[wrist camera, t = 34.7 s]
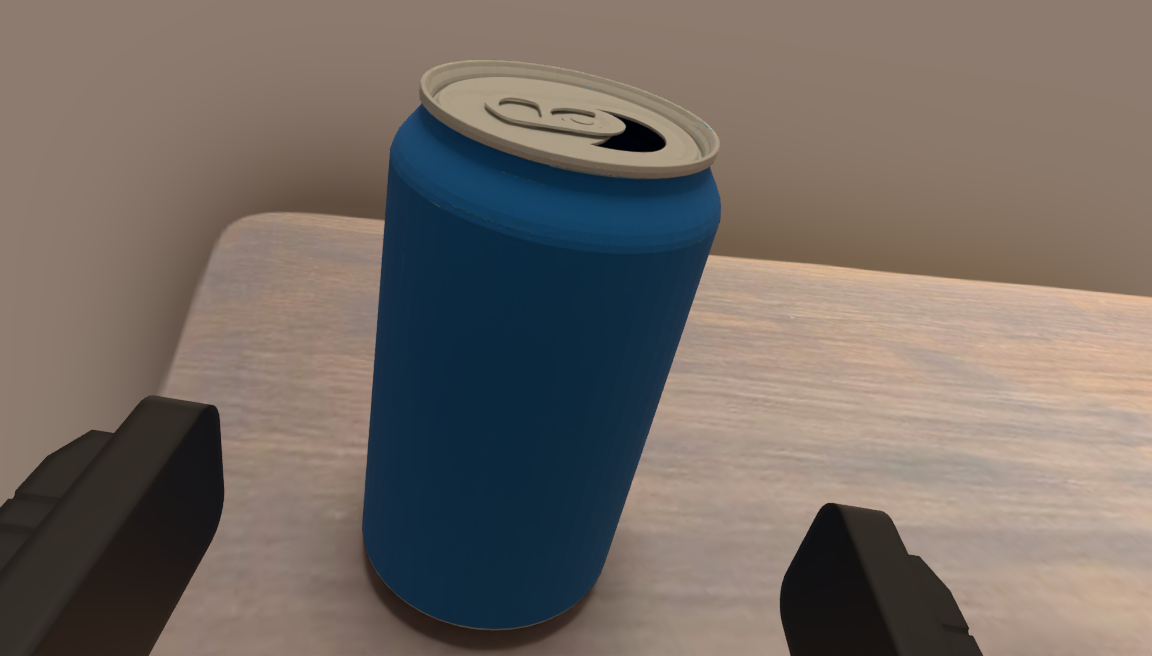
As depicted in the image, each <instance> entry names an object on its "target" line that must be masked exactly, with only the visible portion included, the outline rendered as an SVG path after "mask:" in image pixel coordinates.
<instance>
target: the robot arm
mask: <svg viewBox="0 0 1152 656" xmlns="http://www.w3.org/2000/svg"><path fill="white" fill-rule="evenodd" d="M223 502H224V479H223V463H222V447H221V432H220V418H219V413H218V410H217V408H216V407H215V406H214V405H209V404H203V403H197V402H190V401H184V400H178V399H172V398H166V397H159V396H148V397H146V398H144V399H143V400H142V401H141V402H140V403H139V404H138V405H137V406H136V407H135V409H134V410H133V411H132V412H131V414H130V415H129V416H128V417H127V418H126V420H125V421H124V422H123V423H122V424H121V426H120V427H119V428H118V429H117V430H116V432H115V433H110V432H103V431H97V430H91V431H89V432H87V433H86V434H84V435H82V436H81V437H79V438H77V439H75V440H74V441H72V442H70V443H69V444H67V445H65V446H64V447H62V448H60V449H59V450H57V451H55V452H54V453H52V454H50V455H48V456H47V457H46V458H45V459H44V460H43V461H42V463H40V465H39V466H38V467H37V468H36V469H35V470H34V471H33V472H32V473H31V474H30V475H29V477H28V478H27V479H26V480H25V481H24V482H23V483H22V484H21V485H20V486H19V488H18V489H17V490H16V491H15V496H14V498H13V499H8V500H7V501H6V502H5V503H4V504H3V505H2V506H1V507H0V656H149V654H150V652H151V650H152V649H153V647H154V645H155V643H156V641H157V640H158V638H159V636H160V634H161V632H162V630H163V629H164V627H165V625H166V623H167V621H168V620H169V618H170V616H171V614H172V612H173V610H174V609H175V607H176V605H177V603H178V601H179V600H180V598H181V596H182V594H183V592H184V591H185V589H186V587H187V585H188V583H189V581H190V580H191V578H192V576H193V574H194V572H195V571H196V569H197V567H198V565H199V563H200V561H201V560H202V558H203V556H204V554H205V552H206V551H207V549H208V547H209V545H210V543H211V541H212V539H213V537H214V535H215V532H216V530H217V527H218V524H219V521H220V517H221V513H222V508H223ZM780 614H781V620H782V625H783V628H784V632H785V636H786V640H787V644H788V647H789V651H790V655H791V656H983V655H982V653H981V651H980V649H979V647H978V645H977V643H976V641H975V639H974V637H973V636H971V635H969V633H968V630H969V627H968V625H967V623H966V621H965V619H964V617H963V615H962V613H961V611H960V609H959V607H958V605H957V603H956V601H955V599H954V597H953V595H952V593H951V591H950V590H949V589H948V588H947V587H946V585H945V584H944V583H943V582H942V581H941V580H940V579H939V578H938V577H937V575H936V574H935V573H934V572H933V571H932V570H931V569H930V568H929V566H928V565H927V564H926V563H925V562H924V561H923V560H922V559H921V557H920V556H915V555H908V553H907V550H906V548H905V546H904V544H903V542H902V540H901V538H900V536H899V534H898V531H897V529H896V527H895V525H894V523H893V521H892V519H891V518H890V517H889V516H888V515H887V514H886V513H885V512H883V511H879V510H872V509H866V508H860V507H854V506H848V505H841V504H835V503H827V504H825V505H824V506H823V507H822V508H821V509H820V510H819V512H818V513H817V515H816V517H815V519H814V521H813V523H812V525H811V527H810V528H809V530H808V532H807V534H806V536H805V538H804V540H803V542H802V543H801V545H800V547H799V549H798V551H797V553H796V555H795V557H794V558H793V560H792V562H791V564H790V566H789V568H788V570H787V572H786V574H785V576H784V579H783V582H782V586H781V593H780Z"/></svg>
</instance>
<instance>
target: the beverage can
mask: <svg viewBox="0 0 1152 656" xmlns="http://www.w3.org/2000/svg"><path fill="white" fill-rule="evenodd" d="M419 95H420V100H421V102H422V104H421V105H420V106H419V107H418V108H417V109H416V110H415V111H414V112H413V113H412V114H411V115H410V116H409V117H408V119H407V120H406V121H405V122H404V123H403V124H402V126H401V127H400V128H399V130H398V131H397V134H396V135H395V138H394V140H393V142H392V145H391V148H390V159H389V172H388V185H387V199H386V212H385V226H384V239H383V253H382V266H381V280H380V293H379V306H378V320H377V333H376V347H375V360H374V374H373V387H372V401H371V414H370V427H369V441H368V454H367V468H366V481H365V495H364V508H363V525H362V531H363V538H364V544H365V547H366V550H367V553H368V557H369V559H370V561H371V563H372V565H373V567H374V569H375V571H376V572H377V573H378V575H379V576H380V577H381V579H382V580H383V582H384V583H385V584H386V585H387V586H388V587H389V588H390V589H391V590H392V591H393V592H394V593H395V594H396V595H397V596H398V597H400V598H401V599H402V600H403V601H405V602H406V603H407V604H409V605H410V606H412V607H414V608H415V609H417V610H419V611H420V612H422V613H424V614H426V615H428V616H431V617H433V618H435V619H437V620H440V621H443V622H446V623H449V624H453V625H456V626H460V627H466V628H472V629H480V630H510V629H517V628H523V627H528V626H532V625H535V624H538V623H542V622H545V621H547V620H549V619H552V618H554V617H556V616H558V615H560V614H562V613H563V612H565V611H566V610H568V609H570V608H571V607H573V606H574V605H575V604H576V603H577V602H579V601H580V600H581V599H582V598H583V597H584V596H585V595H586V594H587V593H588V591H589V590H590V589H591V588H592V587H593V585H594V584H595V582H596V580H597V579H598V577H599V575H600V574H601V571H602V568H603V566H604V563H605V560H606V557H607V554H608V551H609V549H610V546H611V543H612V540H613V537H614V534H615V531H616V528H617V525H618V522H619V519H620V516H621V513H622V510H623V507H624V504H625V501H626V498H627V495H628V492H629V489H630V486H631V483H632V480H633V477H634V474H635V471H636V469H637V466H638V463H639V460H640V457H641V454H642V451H643V448H644V445H645V442H646V439H647V436H648V433H649V430H650V427H651V424H652V421H653V418H654V415H655V412H656V409H657V406H658V403H659V400H660V397H661V394H662V391H663V388H664V386H665V383H666V380H667V377H668V374H669V371H670V368H671V365H672V362H673V359H674V356H675V353H676V350H677V347H678V344H679V341H680V338H681V335H682V332H683V329H684V326H685V323H686V320H687V317H688V314H689V311H690V308H691V306H692V303H693V300H694V297H695V294H696V291H697V288H698V285H699V282H700V279H701V276H702V273H703V270H704V267H705V264H706V261H707V258H708V255H709V252H710V249H711V246H712V243H713V240H714V237H715V234H716V231H717V228H718V225H719V223H720V215H721V203H720V196H719V193H718V189H717V186H716V183H715V180H714V178H713V175H712V172H711V169H710V166H711V165H712V164H713V163H714V161H715V159H716V157H717V154H718V151H719V146H720V142H719V139H718V137H717V135H716V133H715V132H714V131H713V129H712V128H711V127H710V126H708V125H707V123H705V122H704V121H703V120H701V119H700V118H699V117H697V116H696V115H694V114H692V113H691V112H689V111H688V110H686V109H684V108H682V107H680V106H678V105H676V104H674V103H672V102H670V101H668V100H666V99H663V98H661V97H659V96H656V95H654V94H651V93H649V92H646V91H643V90H641V89H638V88H635V87H632V86H629V85H626V84H623V83H620V82H616V81H613V80H609V79H606V78H602V77H598V76H594V75H591V74H587V73H582V72H578V71H574V70H568V69H563V68H558V67H552V66H546V65H540V64H531V63H525V62H513V61H499V60H471V61H459V62H452V63H447V64H443V65H440V66H437V67H434V68H432V69H430V70H429V71H427V72H426V73H425V74H424V75H423V76H422V78H421V81H420V90H419Z"/></svg>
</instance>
